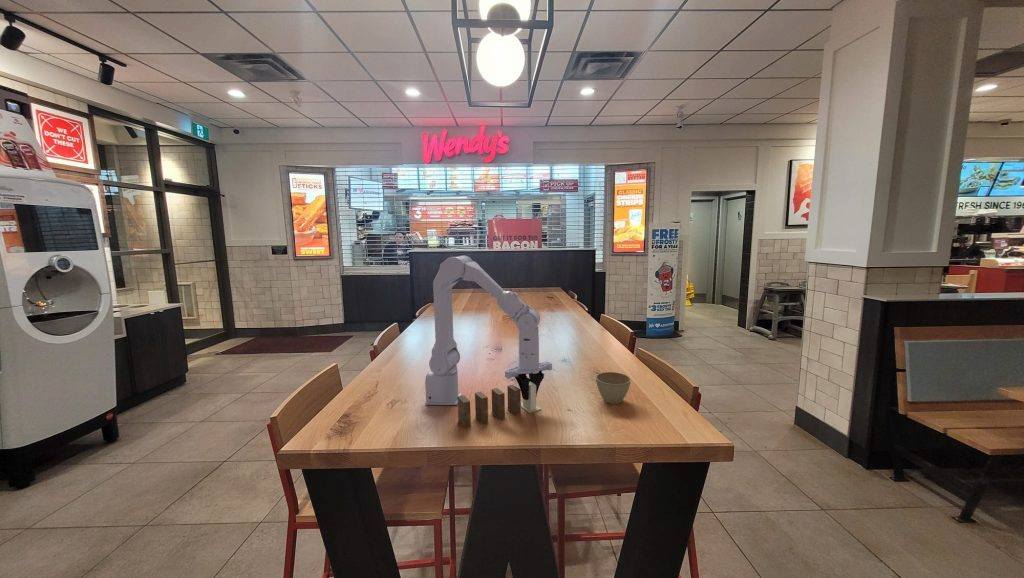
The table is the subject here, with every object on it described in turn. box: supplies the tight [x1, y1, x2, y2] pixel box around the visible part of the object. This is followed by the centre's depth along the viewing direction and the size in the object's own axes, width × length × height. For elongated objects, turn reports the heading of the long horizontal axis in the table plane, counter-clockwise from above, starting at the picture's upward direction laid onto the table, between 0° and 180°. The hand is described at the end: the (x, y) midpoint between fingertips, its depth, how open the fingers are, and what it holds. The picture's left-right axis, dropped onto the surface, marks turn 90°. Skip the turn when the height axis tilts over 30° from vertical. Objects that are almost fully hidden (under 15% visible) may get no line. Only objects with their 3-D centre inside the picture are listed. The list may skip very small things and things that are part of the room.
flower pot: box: [595, 371, 632, 405], centre depth 115 cm, size 10×10×7 cm
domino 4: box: [507, 384, 522, 416], centre depth 109 cm, size 2×4×7 cm, turn 29°
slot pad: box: [521, 402, 542, 414], centre depth 112 cm, size 4×6×1 cm, turn 28°
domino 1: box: [457, 394, 472, 429], centre depth 102 cm, size 2×4×7 cm, turn 28°
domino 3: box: [491, 387, 506, 420], centre depth 107 cm, size 2×4×7 cm, turn 28°
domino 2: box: [474, 391, 489, 425], centre depth 104 cm, size 2×4×7 cm, turn 28°
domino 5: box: [522, 382, 537, 410], centre depth 111 cm, size 2×4×7 cm, turn 29°
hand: (529, 397), depth 111 cm, fingers open, 2 cm apart
